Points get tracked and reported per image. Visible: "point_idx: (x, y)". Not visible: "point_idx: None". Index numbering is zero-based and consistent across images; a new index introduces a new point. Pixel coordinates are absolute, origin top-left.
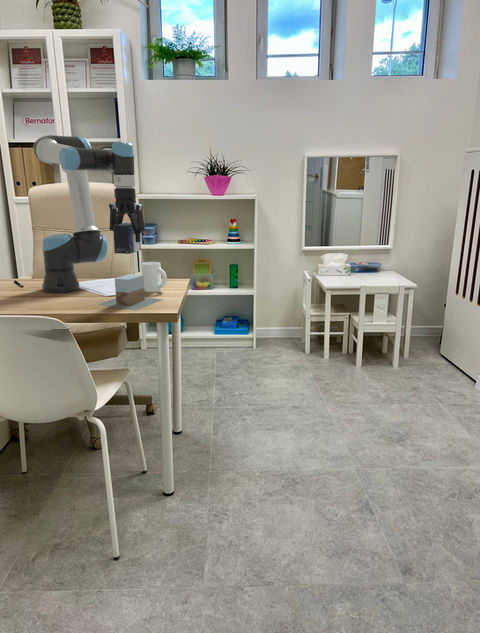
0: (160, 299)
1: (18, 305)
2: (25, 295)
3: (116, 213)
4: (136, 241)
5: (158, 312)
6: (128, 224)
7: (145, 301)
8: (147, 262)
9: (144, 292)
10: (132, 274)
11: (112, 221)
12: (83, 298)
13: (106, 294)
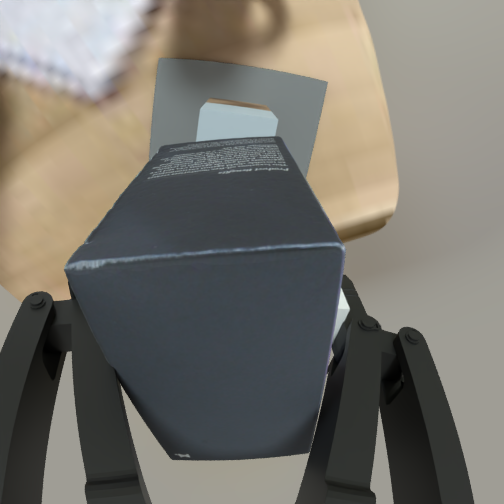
0: (317, 83)
1: (6, 270)
2: None
3: (8, 464)
4: None
5: (359, 216)
6: (272, 421)
7: (278, 123)
8: None
9: (269, 109)
10: (215, 122)
11: (52, 413)
12: (58, 155)
13: (85, 77)
